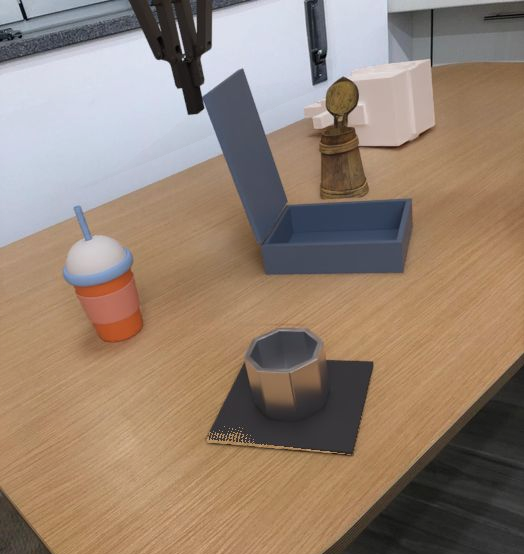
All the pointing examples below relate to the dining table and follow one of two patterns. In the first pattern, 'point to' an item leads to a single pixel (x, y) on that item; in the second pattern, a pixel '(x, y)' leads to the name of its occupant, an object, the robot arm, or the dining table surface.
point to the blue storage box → (340, 238)
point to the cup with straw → (104, 283)
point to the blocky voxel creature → (386, 104)
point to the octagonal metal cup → (288, 373)
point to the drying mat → (309, 432)
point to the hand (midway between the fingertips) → (196, 111)
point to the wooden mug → (341, 146)
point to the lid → (246, 152)
